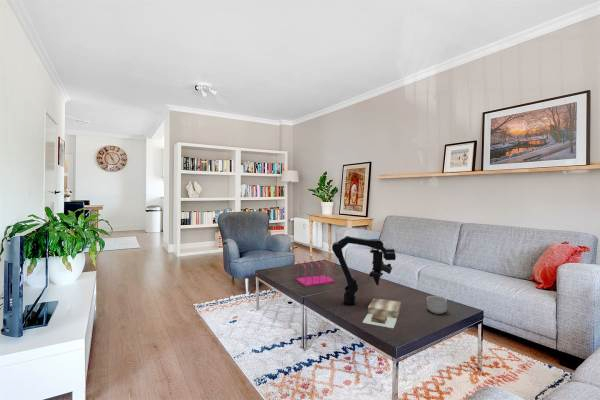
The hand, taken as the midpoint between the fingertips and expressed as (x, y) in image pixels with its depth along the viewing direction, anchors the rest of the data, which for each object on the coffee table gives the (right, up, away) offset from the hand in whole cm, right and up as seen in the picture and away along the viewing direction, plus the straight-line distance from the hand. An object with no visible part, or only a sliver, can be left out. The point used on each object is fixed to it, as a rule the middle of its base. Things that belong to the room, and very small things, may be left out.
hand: (377, 285), depth 189 cm
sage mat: (-5, -13, -23) cm, 27 cm away
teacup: (+32, -13, -10) cm, 36 cm away
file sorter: (-36, -11, +48) cm, 61 cm away
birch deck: (+2, -12, -10) cm, 16 cm away
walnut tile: (-5, -10, -24) cm, 26 cm away
